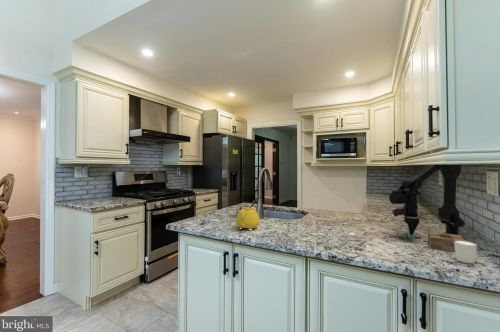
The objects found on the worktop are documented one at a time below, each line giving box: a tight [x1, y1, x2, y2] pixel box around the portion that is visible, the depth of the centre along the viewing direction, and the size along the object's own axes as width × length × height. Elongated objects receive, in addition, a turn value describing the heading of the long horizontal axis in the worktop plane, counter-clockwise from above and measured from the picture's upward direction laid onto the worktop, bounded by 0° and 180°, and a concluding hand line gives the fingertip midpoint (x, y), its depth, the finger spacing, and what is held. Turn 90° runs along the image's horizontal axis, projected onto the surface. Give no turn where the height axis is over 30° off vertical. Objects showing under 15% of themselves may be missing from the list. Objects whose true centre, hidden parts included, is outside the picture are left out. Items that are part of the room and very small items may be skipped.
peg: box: [407, 226, 416, 240], centre depth 126 cm, size 3×3×9 cm
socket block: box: [427, 231, 466, 253], centre depth 112 cm, size 12×12×5 cm
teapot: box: [235, 206, 261, 230], centre depth 150 cm, size 14×20×13 cm
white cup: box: [454, 240, 478, 264], centre depth 96 cm, size 7×7×7 cm
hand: (411, 233), depth 126 cm, fingers open, 6 cm apart
